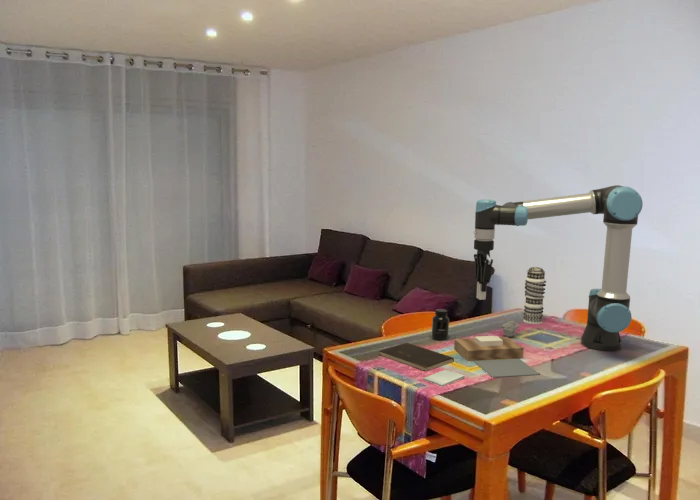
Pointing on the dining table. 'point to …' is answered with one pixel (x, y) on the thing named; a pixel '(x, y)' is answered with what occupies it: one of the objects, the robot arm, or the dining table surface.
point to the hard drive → (444, 377)
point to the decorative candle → (534, 295)
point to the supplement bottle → (440, 325)
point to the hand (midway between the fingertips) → (481, 298)
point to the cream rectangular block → (488, 341)
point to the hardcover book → (416, 356)
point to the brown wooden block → (488, 350)
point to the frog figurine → (510, 328)
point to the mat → (506, 368)
